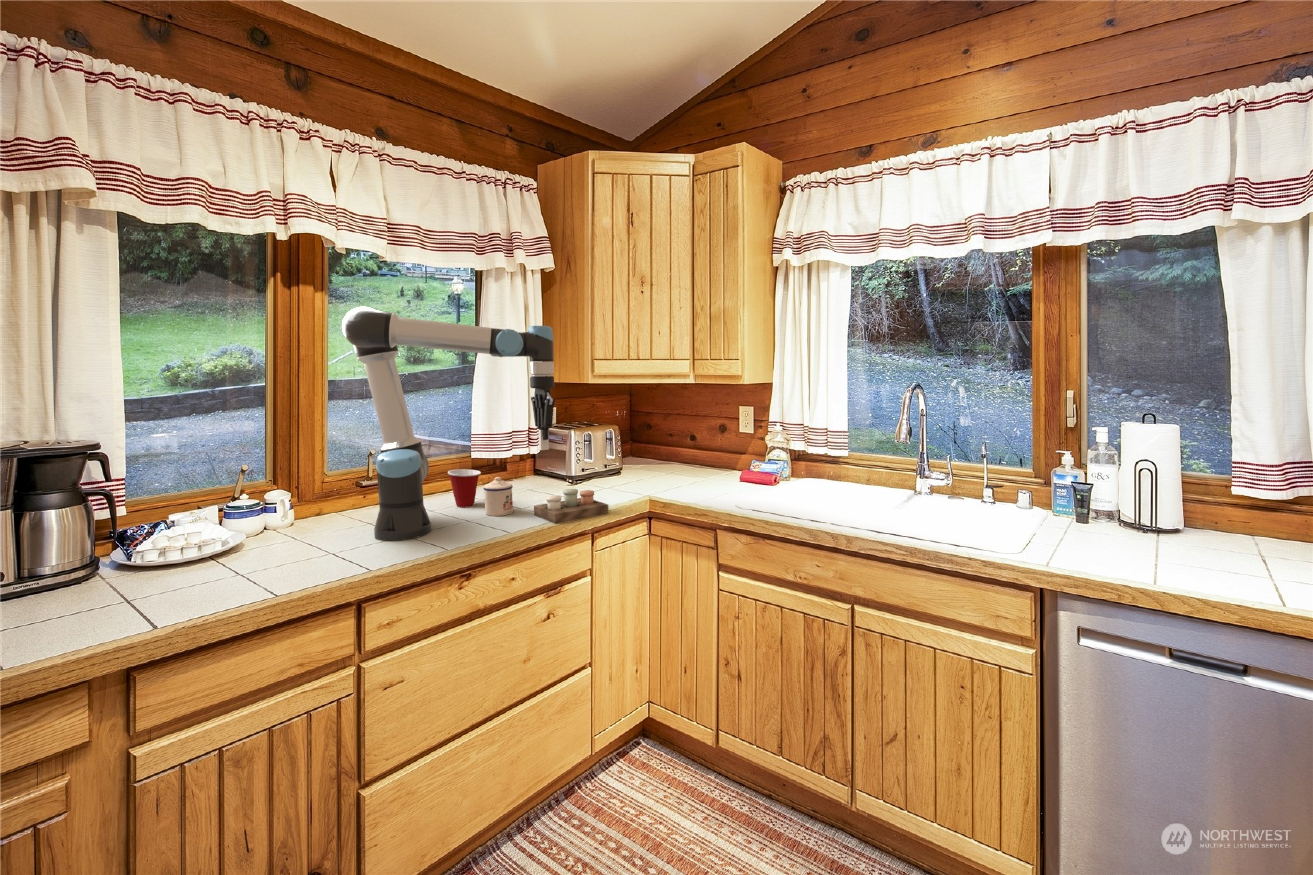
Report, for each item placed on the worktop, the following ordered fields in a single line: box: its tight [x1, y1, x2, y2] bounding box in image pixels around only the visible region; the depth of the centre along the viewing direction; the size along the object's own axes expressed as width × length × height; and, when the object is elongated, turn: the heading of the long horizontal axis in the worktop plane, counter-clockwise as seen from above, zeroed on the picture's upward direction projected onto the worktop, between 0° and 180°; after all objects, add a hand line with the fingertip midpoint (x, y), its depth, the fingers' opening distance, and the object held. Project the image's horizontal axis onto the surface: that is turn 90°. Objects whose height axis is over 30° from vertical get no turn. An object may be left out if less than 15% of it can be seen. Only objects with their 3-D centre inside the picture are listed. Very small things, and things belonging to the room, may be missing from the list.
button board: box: [533, 497, 609, 525], centre depth 195 cm, size 19×14×3 cm
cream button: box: [546, 495, 562, 511], centre depth 192 cm, size 5×5×5 cm
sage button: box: [562, 488, 579, 508], centre depth 195 cm, size 5×5×5 cm
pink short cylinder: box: [579, 489, 595, 505], centre depth 199 cm, size 5×5×5 cm
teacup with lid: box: [483, 476, 514, 517], centre depth 199 cm, size 12×9×12 cm
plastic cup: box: [447, 468, 482, 508], centre depth 209 cm, size 11×11×12 cm
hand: (544, 449), depth 197 cm, fingers closed
